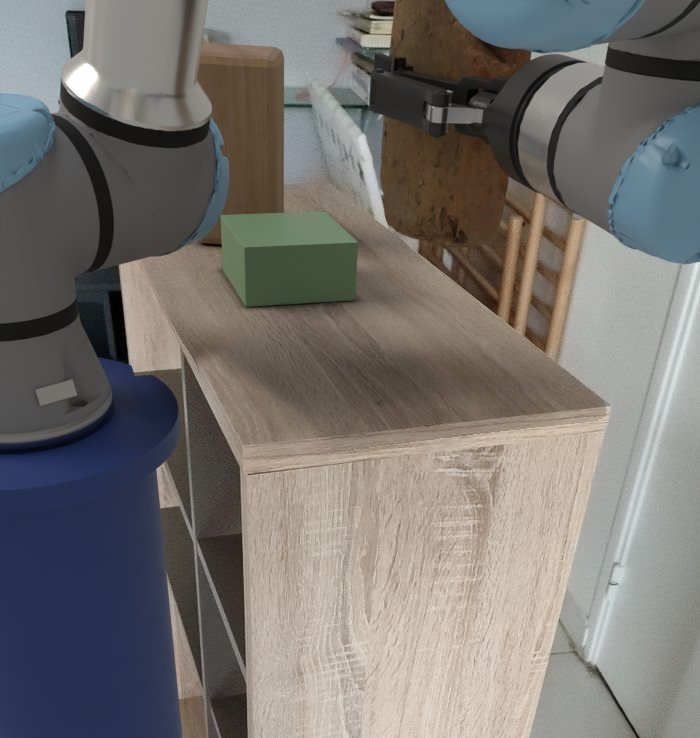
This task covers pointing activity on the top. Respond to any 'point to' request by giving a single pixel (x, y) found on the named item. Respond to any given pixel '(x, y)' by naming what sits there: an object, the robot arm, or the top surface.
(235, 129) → the wooden block
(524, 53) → the brown porous chunk
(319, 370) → the top surface
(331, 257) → the green base
